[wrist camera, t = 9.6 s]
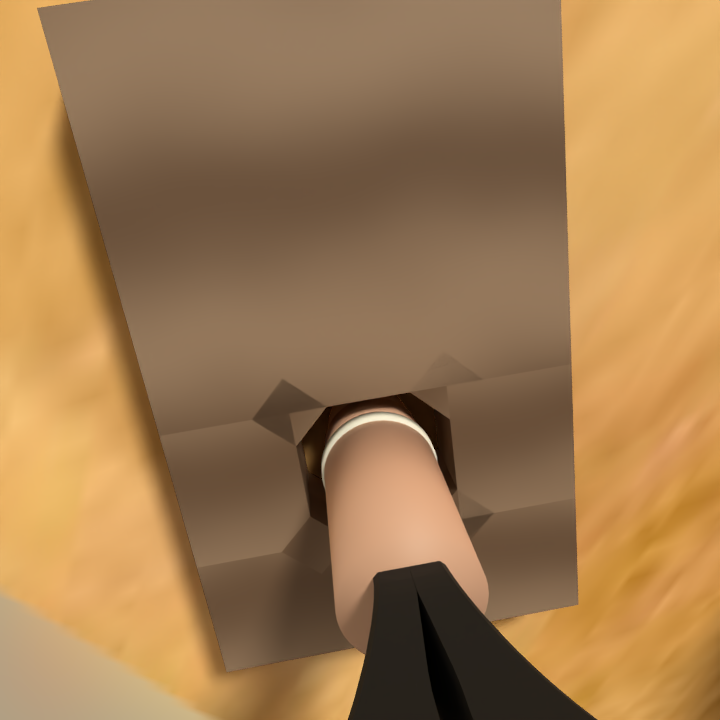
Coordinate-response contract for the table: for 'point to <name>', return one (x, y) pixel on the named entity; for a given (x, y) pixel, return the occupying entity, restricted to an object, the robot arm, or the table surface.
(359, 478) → the peg
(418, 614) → the robot arm
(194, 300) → the board
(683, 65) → the table surface
